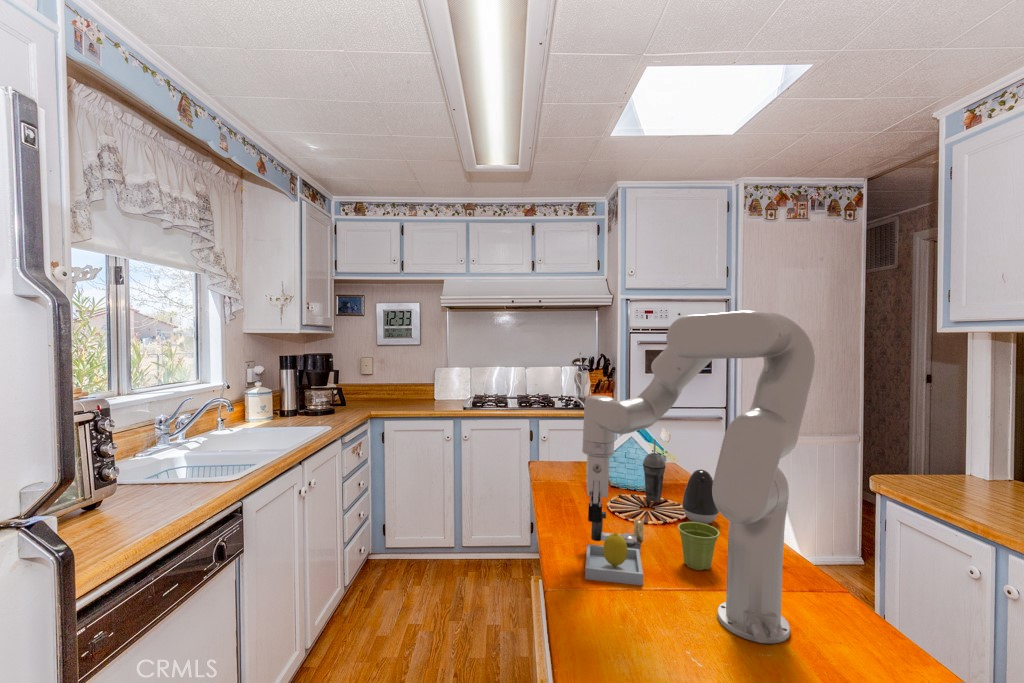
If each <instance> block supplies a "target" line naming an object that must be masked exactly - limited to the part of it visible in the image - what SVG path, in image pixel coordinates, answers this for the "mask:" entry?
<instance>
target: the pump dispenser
mask: <svg viewBox="0 0 1024 683" xmlns="http://www.w3.org/2000/svg"><path fill="white" fill-rule="evenodd" d="M713 480H714V478H713V477H712V475H711V474H710V472H708V471H707V470H705V469H697V470H695V471H693V472H692V474H691V475H690V476H689V479H688V481H687V484H686V486H685V488H684V493H683V496H682V509H683V512H684V514H685V516H686V518H688V520H690V522H698V523H703V524H707V525H709V524H711V523H713V522H714V521H715V520H716V519H717V516H718V514H719V513H720V512H719V511H718V509H717V508H716V506H715V503H714V501H713V496H712V485H713Z"/></svg>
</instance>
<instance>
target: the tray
mask: <svg viewBox="0 0 1024 683" xmlns="http://www.w3.org/2000/svg"><path fill="white" fill-rule="evenodd" d="M603 547H604V545H600V544H589V543H587V544H586V556H585V557H586V558H585V572H584V573H585V576H584V579H585V580H588V581H589V580H591V581H598V582H609V583H618V584H625V585H634V586H644V571H643V570H644V569H643V565H642V559H641V553H640V551H639V549H633V548H627V557H626V560H625V561H624V562H623V563H622V564H621V565H618V566H616V567H614V566H613V565H612V564H610V563H608V562H607V560H606V559H605V557H604V553H603Z"/></svg>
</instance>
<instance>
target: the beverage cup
mask: <svg viewBox="0 0 1024 683" xmlns="http://www.w3.org/2000/svg"><path fill="white" fill-rule="evenodd" d="M656 446H657V445H656V439H653V452H651V453H648V454H647V455H646V456H645V457H644V459H643V463H642V467H643V472H644V473H643V474H644V488H645V489H644V490H645V499H647V500H649V501H653V502H657V501H660V502H661V499H662V491H663V484H664V483H663V482H664V476H665V475H664V474H665V471H666V461H665V460H664V458H663V456H661V455H660V454H659V453H656ZM647 500H646V501H647ZM649 501H648V502H649ZM653 502H652V503H653Z"/></svg>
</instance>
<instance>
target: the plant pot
mask: <svg viewBox="0 0 1024 683" xmlns="http://www.w3.org/2000/svg"><path fill="white" fill-rule="evenodd" d="M677 530H678V531H679V535H680V538H681V546H682V549H681V550H682V556H683V557H682V558H683V563H684V565H686V566H687V567H688V568H690V569H693V570H695V571H696V570H697V571H703V570H706V571H709V570H710V569H711V568H712V563H713V557H714V551H715V548H716V543H717V540H718V538H719V536H720V530H719V529H718V528H716V527H714V526H711V525H710V524H703V523H698V522H693V521H686V522H681V523H679V524H678V525H677Z"/></svg>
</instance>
